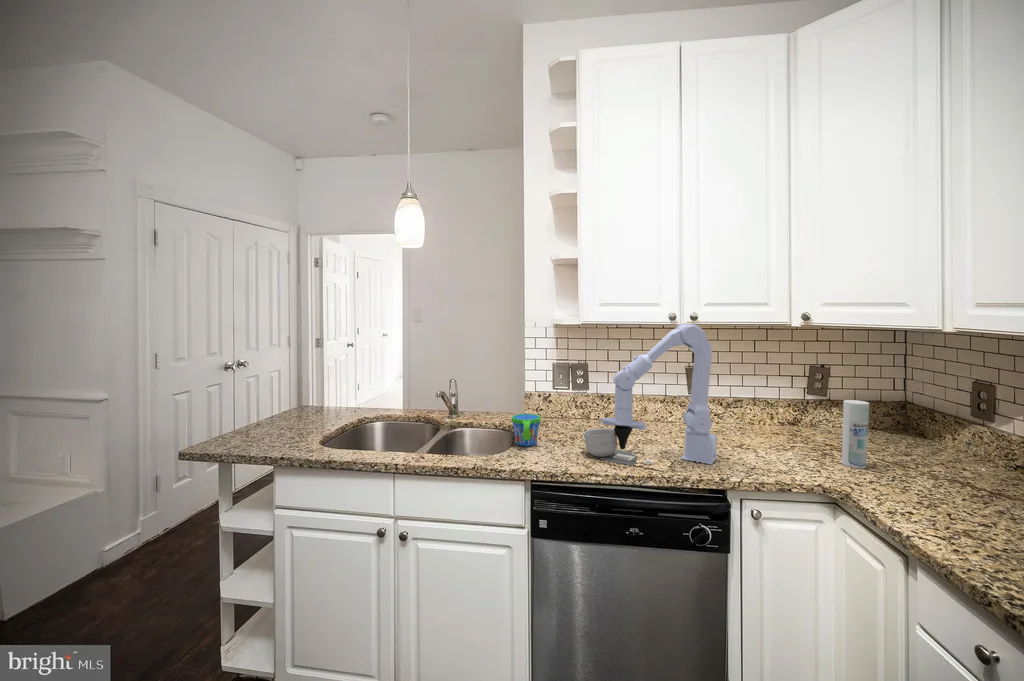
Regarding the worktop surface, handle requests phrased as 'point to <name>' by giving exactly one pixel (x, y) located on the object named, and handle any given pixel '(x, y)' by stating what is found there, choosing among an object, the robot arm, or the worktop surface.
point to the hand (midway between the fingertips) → (622, 448)
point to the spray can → (855, 433)
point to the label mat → (623, 458)
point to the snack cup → (526, 429)
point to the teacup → (601, 441)
